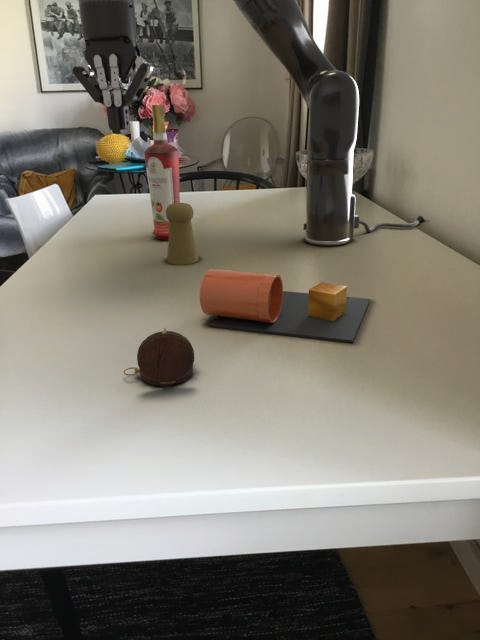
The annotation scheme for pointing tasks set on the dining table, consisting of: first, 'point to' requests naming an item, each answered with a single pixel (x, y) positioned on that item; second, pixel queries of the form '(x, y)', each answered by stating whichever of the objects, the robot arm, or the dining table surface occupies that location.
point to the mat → (304, 320)
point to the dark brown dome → (165, 358)
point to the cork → (181, 234)
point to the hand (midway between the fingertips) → (120, 133)
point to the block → (327, 301)
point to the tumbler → (241, 295)
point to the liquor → (162, 174)
